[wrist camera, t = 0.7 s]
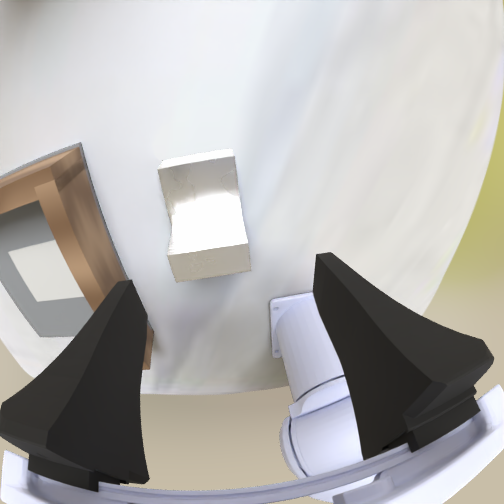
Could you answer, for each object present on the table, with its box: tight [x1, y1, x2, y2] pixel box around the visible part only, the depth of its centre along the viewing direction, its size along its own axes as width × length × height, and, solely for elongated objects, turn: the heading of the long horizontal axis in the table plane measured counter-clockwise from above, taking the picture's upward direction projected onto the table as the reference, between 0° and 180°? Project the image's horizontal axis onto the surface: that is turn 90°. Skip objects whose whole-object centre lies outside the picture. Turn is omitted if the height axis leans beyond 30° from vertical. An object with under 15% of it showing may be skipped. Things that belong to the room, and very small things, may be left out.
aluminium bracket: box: [158, 148, 251, 282], centre depth 16 cm, size 6×4×5 cm
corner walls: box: [0, 147, 154, 370], centre depth 18 cm, size 18×15×4 cm
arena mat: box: [0, 142, 152, 337], centre depth 19 cm, size 18×15×1 cm
